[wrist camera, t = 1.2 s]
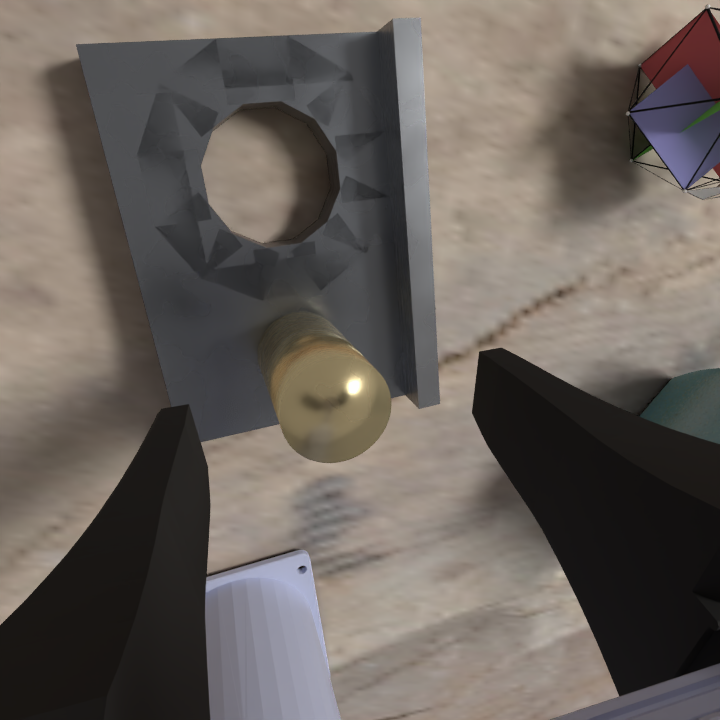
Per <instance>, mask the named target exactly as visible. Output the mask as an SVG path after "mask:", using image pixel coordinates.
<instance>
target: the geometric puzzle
mask: <svg viewBox="0 0 720 720" xmlns="http://www.w3.org/2000/svg"><path fill="white" fill-rule="evenodd" d="M709 8H710V9H714V10H719V11H720V9H718V8H711V7H710V5H709V4H708V5H706V6H705V9H704V10H703V11H702V12H701V13H700V14H699V15H697V16H696V17H695V18H694V19H693V20H692V21H690V22H689V23H688V24H687V25H686V26H685V27H684V28H682V29H681V30H680V31H679V32H678V33H677V34H675V35H674V36H673V37H672V38H671V39H670V40H669V41H667V42H666V43H665V44H664V45H663V46H662V47H660V48H659V49H658V50H657V51H656V52H655V53H654V54H652V55H651V56H650V57H649V58H648V59H647V60H645V61H644V62H643V63H642V64H641V63H640V64H639V65H638V67H639V70H638V73H639V76H638V74H637V77H638V88H637V100H636V102H635V103H634V104H633V106H632V107H631V108H630V105H631V101H632V97H633V94H632V97H631V101H630V105H629V109H630V110H629V109H628V112H626V115H627V116H628V115H629V116H630V117H631V119H632V120H633V121H634V134H633V146H632V157H631V159H630V162H633V163H634V162H636V161H634V160H635V159H636V158H638V157H640V156H641V155H643V154H645V153H646V152H648V151H650V150H652V149H654V150H655V152H656V153H657V154H658V156H659V157H660V159H661V160H662V161H663V163H664V164H665V166H666V167H667V168H663V167H659V166H654V165H650V164H645V163H641V162H636V163H640V164H645V165H649V166H654V167H658V168H663V169H667V170H669V171H670V172H671V174H672V175H673V177H674V178H675V179H676V181H677V182H678V184H679V185H680V186H681V188H682V189H683V191H682V192H683V193H686V192H687V193H689V194H691V195H693V196H696V197H698V198H700V199H702V200H703V199H704V200H705V199H706V198H709V197H712V196H715V195H718V194H720V184H719V185H718V186H717V187H714V188H706V189H698V190H691V189H692V188H690V189H688V188H689V187H690V186H691V185H693V184H694V183H695V182H696V181H697V180H699V179H700V178H701V177H703V178H707V179H712V180H713V181H715V180H716V181H720V180H718V179H713V178H708V177H704V175H705V174H706V173H707V172H708V171H710V170H711V169H712V168H713V169H714V171H715V172H716V173H717V175H718V176H719V179H720V24H719V23H718V22H717V20H716V19H715V17H714V16H713V14H712V13H711V11H710V9H709ZM640 68H641V69H642V70H643V71H644V73H645V74H646V75H647V77H648V78H649V80H650V81H651V82H650V83H649V84H648V86H647V87H646V88H645V90H644V91H643V92H642V94H641V95H640V96H639V98H638V90H639V79H640ZM636 81H637V78H636ZM651 83H652V84H653V85H654V87H655V88H656V90H655V91H654V92H653V93H651V94H650V95H649V96H648V97H646V98H645V99H644V100H643V101H641V102H640V103H639V104H638V105H637V102H638V100H639V99H640V97H641V96H642V95H643V93H644V92H645V91H646V90H647V88H648V87H649V86H650V84H651ZM635 85H636V82H635ZM634 89H635V86H634ZM633 93H634V90H633ZM635 104H636V106H635V107H634V105H635ZM633 107H634V108H633ZM632 108H633V109H632ZM631 109H632V110H631ZM628 124H629V117H628ZM635 125H637V127H638V128H639V130H640V131H641V132H642V134H643V135H644V137H645V138H646V139H647V141H648V142H649V143H650V145H649V146H648V147H646V148H645V149H644V150H643V151H641V152H640V153H639V154H638V155H637V156H635V157H634V158H633V147H634V136H635ZM629 138H630V131H629ZM630 151H631V145H630ZM636 163H635V164H636ZM637 165H638V164H637ZM642 168H643V167H642ZM644 169H645V168H644ZM646 170H647V169H646ZM649 172H650V171H649ZM651 173H652V172H651ZM653 174H654V173H653ZM655 175H656V174H655ZM658 177H659V176H658ZM660 178H661V177H660ZM662 179H663V178H662ZM665 181H666V180H665ZM667 182H668V181H667ZM710 182H712V181H710ZM710 182H707V183H710ZM669 183H670V182H669ZM707 183H704V184H707ZM717 183H719V182H717ZM671 184H672V183H671ZM704 184H701V185H704ZM713 184H715V183H713ZM672 185H673V184H672ZM701 185H699V186H701ZM709 185H711V184H709ZM674 186H675V185H674ZM705 186H707V185H705ZM676 187H677V186H676ZM696 187H697V188H699V187H698V186H696ZM701 187H703V186H701ZM678 188H679V187H678ZM682 189H681V190H682ZM693 189H695V187H693ZM687 190H690V191H687ZM719 197H720V196H719ZM714 198H718V197H714ZM709 199H711V198H709Z"/></svg>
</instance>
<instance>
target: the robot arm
mask: <svg viewBox="0 0 720 720" xmlns="http://www.w3.org/2000/svg"><path fill="white" fill-rule="evenodd" d="M472 414H473V416H474V418H475V420H476V423H477V425H478V427H479V429H480V431H481V433H482V435H483V437H484V439H485V441H486V443H487V445H488V447H489V448H490V450H491V452H492V453H493V455H494V456H495V458H496V459H497V461H498V462H499V464H500V465H501V467H502V469H503V470H504V472H505V473H506V475H507V476H508V478H509V479H510V481H511V482H512V484H513V485H514V487H515V488H516V490H517V491H518V493H519V494H520V496H521V497H522V499H523V500H524V502H525V503H526V505H527V506H528V508H529V509H530V511H531V512H532V514H533V515H534V517H535V518H536V520H537V522H538V523H539V525H540V527H541V528H542V530H543V532H544V534H545V536H546V538H547V540H548V541H549V543H550V545H551V547H552V549H553V551H554V553H555V555H556V557H557V559H558V561H559V562H560V564H561V567H562V569H563V571H564V573H565V575H566V577H567V579H568V581H569V583H570V585H571V587H572V589H573V591H574V593H575V595H576V597H577V599H578V601H579V604H580V606H581V608H582V610H583V612H584V615H585V617H586V619H587V621H588V623H589V626H590V628H591V630H592V632H593V634H594V637H595V639H596V641H597V643H598V646H599V648H600V650H601V653H602V655H603V658H604V660H605V662H606V665H607V667H608V670H609V672H610V674H611V677H612V679H613V682H614V684H615V686H616V689H617V692H618V694H619V697H617V698H614V699H611V700H608V701H605V702H602V703H599V704H595V705H592V706H589V707H586V708H583V709H580V710H577V711H574V712H571V713H568V714H565V715H562V716H559V717H556V718H553V719H550V720H720V444H718V443H714V442H711V441H707V440H704V439H701V438H698V437H695V436H692V435H689V434H686V433H682V432H679V431H676V430H673V429H671V428H668V427H665V426H662V425H659V424H657V423H654V422H652V421H649V420H647V419H644V418H642V417H639V416H637V415H634V414H631V413H629V412H627V411H624V410H622V409H620V408H618V407H615V406H613V405H611V404H609V403H607V402H605V401H603V400H600V399H598V398H596V397H594V396H592V395H590V394H588V393H586V392H584V391H582V390H580V389H578V388H576V387H574V386H572V385H570V384H569V383H567V382H565V381H563V380H561V379H559V378H557V377H555V376H554V375H552V374H550V373H548V372H546V371H544V370H543V369H541V368H539V367H537V366H535V365H534V364H532V363H530V362H528V361H526V360H525V359H523V358H521V357H519V356H517V355H515V354H513V353H511V352H509V351H507V350H505V349H503V348H497V349H491V350H486V351H480V352H479V359H478V367H477V375H476V384H475V392H474V400H473V408H472ZM209 524H210V490H209V476H208V466H207V462H206V459H205V456H204V452H203V449H202V446H201V442H200V439H199V436H198V432H197V429H196V426H195V422H194V419H193V416H192V412H191V409H190V406H189V404H186V405H180V406H175V407H169V408H164V409H161V410H160V412H159V413H158V414H157V416H156V418H155V420H154V422H153V424H152V426H151V428H150V430H149V432H148V434H147V436H146V437H145V439H144V441H143V443H142V445H141V446H140V448H139V450H138V452H137V454H136V455H135V457H134V459H133V460H132V462H131V464H130V465H129V467H128V469H127V470H126V472H125V474H124V475H123V477H122V479H121V480H120V482H119V483H118V485H117V487H116V488H115V489H114V491H113V492H112V494H111V495H110V497H109V498H108V500H107V501H106V503H105V504H104V506H103V507H102V509H101V510H100V512H99V513H98V514H97V516H96V517H95V519H94V520H93V521H92V523H91V524H90V525H89V527H88V528H87V529H86V531H85V532H84V533H83V535H82V536H81V537H80V538H79V540H78V541H77V542H76V543H75V545H74V546H73V547H72V548H71V550H70V551H69V552H68V553H67V555H66V556H65V557H64V558H63V559H62V560H61V562H60V563H59V564H58V565H57V566H56V567H55V568H54V569H53V571H52V572H51V573H50V574H49V575H48V576H47V577H46V578H45V580H44V581H43V582H42V583H41V584H40V585H39V586H38V587H37V588H36V589H35V590H34V592H33V593H32V594H31V595H30V596H29V597H28V598H27V599H26V600H25V601H24V602H23V603H22V604H21V605H20V606H19V607H18V608H17V609H16V610H15V611H14V612H13V613H12V614H11V615H10V616H9V617H8V618H7V619H6V620H5V621H4V622H3V623H2V624H1V625H0V720H341V717H340V713H339V710H338V706H337V703H336V699H335V695H334V692H333V688H332V684H331V681H330V671H329V665H328V659H327V654H326V648H325V642H324V636H323V631H322V625H321V619H320V614H319V608H318V602H317V596H316V591H315V585H314V579H313V573H312V568H311V562H310V557H309V554H308V552H307V551H305V550H297V551H294V552H290V553H287V554H283V555H280V556H277V557H273V558H270V559H266V560H263V561H260V562H256V563H253V564H249V565H246V566H243V567H239V568H236V569H232V570H229V571H226V572H222V573H219V574H216V575H212V576H209V577H206V576H207V559H208V542H209ZM300 566H304V568H302V569H298V568H299V567H300Z"/></svg>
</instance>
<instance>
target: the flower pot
mask: <svg viewBox="0 0 720 720" xmlns="http://www.w3.org/2000/svg"><path fill="white" fill-rule="evenodd" d="M639 417H642V418H644V419H647V420H649V421H652V422H654V423H657V424H659V425H662V426H665V427H668V428H671V429H673V430H676V431H679V432H682V433H686V434H689V435H692V436H695V437H698V438H701V439H704V440H707V441H711V442H714V443H718V444H720V368H717V369H706V370H700V371H695V372H691V373H688V374H684V375H681V376H678V377H674V378H673V379H671V380H670V381H669V382H668V384H667V385H666V386H665V387H664V388H663V389H662V391H661V392H660V393H659V394H658V395H657V396H656V398H655V399H654V400H653V401H652V402H651V404H650V405H649V406H648V407H647V408H646V409H645V410H644V412H643V413H642V414H641V415H640V416H639Z"/></svg>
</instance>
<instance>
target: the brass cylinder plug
mask: <svg viewBox="0 0 720 720" xmlns="http://www.w3.org/2000/svg"><path fill="white" fill-rule="evenodd" d="M258 363H259V367H260V370H261V373H262V375H263V378H264V381H265V384H266V387H267V390H268V392H269V395H270V398H271V401H272V404H273V406H274V409H275V412H276V415H277V418H278V421H279V423H280V426H281V429H282V432H283V434H284V437H285V439H286V440H287V442H288V443H289V445H290V446H291V447H292V448H293V449H294V450H295V451H296V452H297V453H299V454H300V455H302V456H303V457H305V458H307V459H310V460H313V461H316V462H322V463H336V462H342V461H346V460H349V459H352V458H354V457H356V456H358V455H360V454H361V453H363V452H365V451H366V450H367V449H369V448H370V447H371V446H372V445H373V444H374V443H375V442H376V441H377V440H378V439H379V437H380V436H381V434H382V433H383V431H384V429H385V428H386V426H387V423H388V420H389V417H390V413H391V396H390V391H389V388H388V385H387V383H386V381H385V380H384V378H383V377H382V375H381V374H380V373H379V372H378V371H377V370H376V369H375V368H374V367H373V366H372V365H371V364H370V363H369V362H368V361H367V360H366V358H365V357H364V356H363V355H362V354H361V353H360V352H359V351H358V350H357V349H356V348H355V347H354V346H353V345H352V344H351V343H350V342H349V341H348V340H347V339H346V338H345V337H344V336H343V335H342V334H341V333H340V332H339V331H338V330H337V329H336V328H335V327H334V326H333V325H332V324H331V322H329V321H328V320H327V319H325V318H324V317H322V316H320V315H318V314H315V313H311V312H294V313H290V314H287V315H284V316H282V317H280V318H278V319H277V320H276V321H274V322H273V323H272V324H271V325H270V326H269V327H268V328H267V329H266V331H265V332H264V334H263V335H262V338H261V340H260V343H259V346H258Z"/></svg>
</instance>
